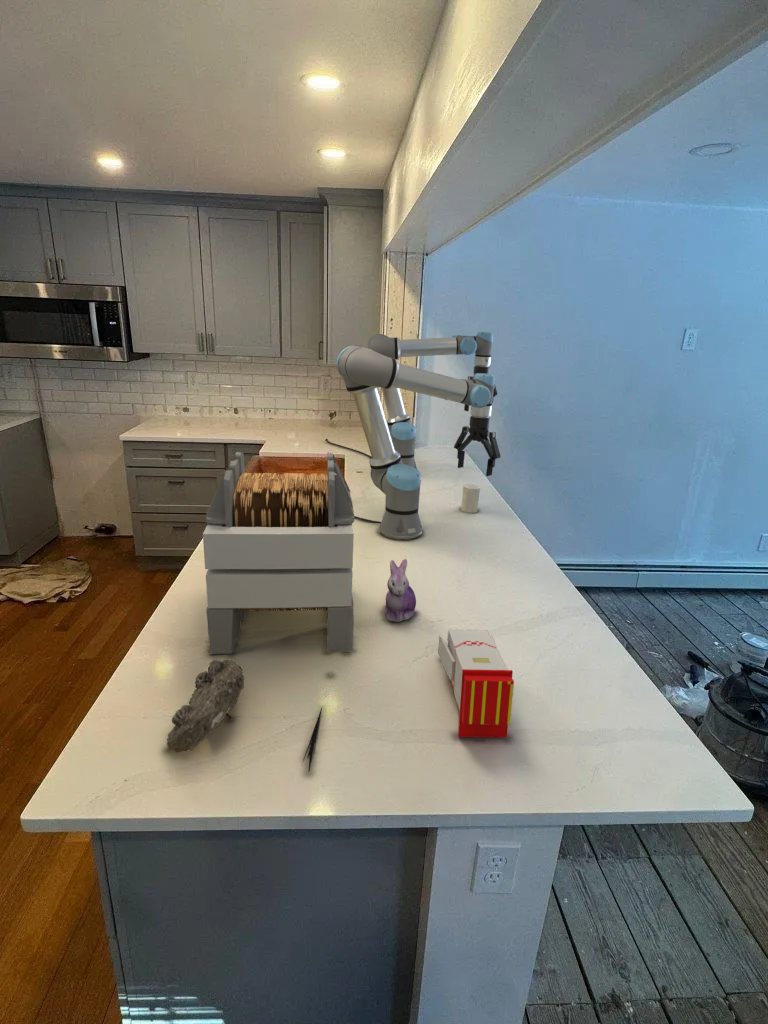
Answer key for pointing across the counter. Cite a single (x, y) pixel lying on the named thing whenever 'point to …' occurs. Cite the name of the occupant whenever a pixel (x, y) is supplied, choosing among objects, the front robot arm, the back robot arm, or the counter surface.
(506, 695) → the toy
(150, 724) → the counter surface
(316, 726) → the feather
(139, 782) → the counter surface
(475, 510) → the cylinder
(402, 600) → the figurine
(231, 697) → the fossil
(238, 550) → the record storage crate
